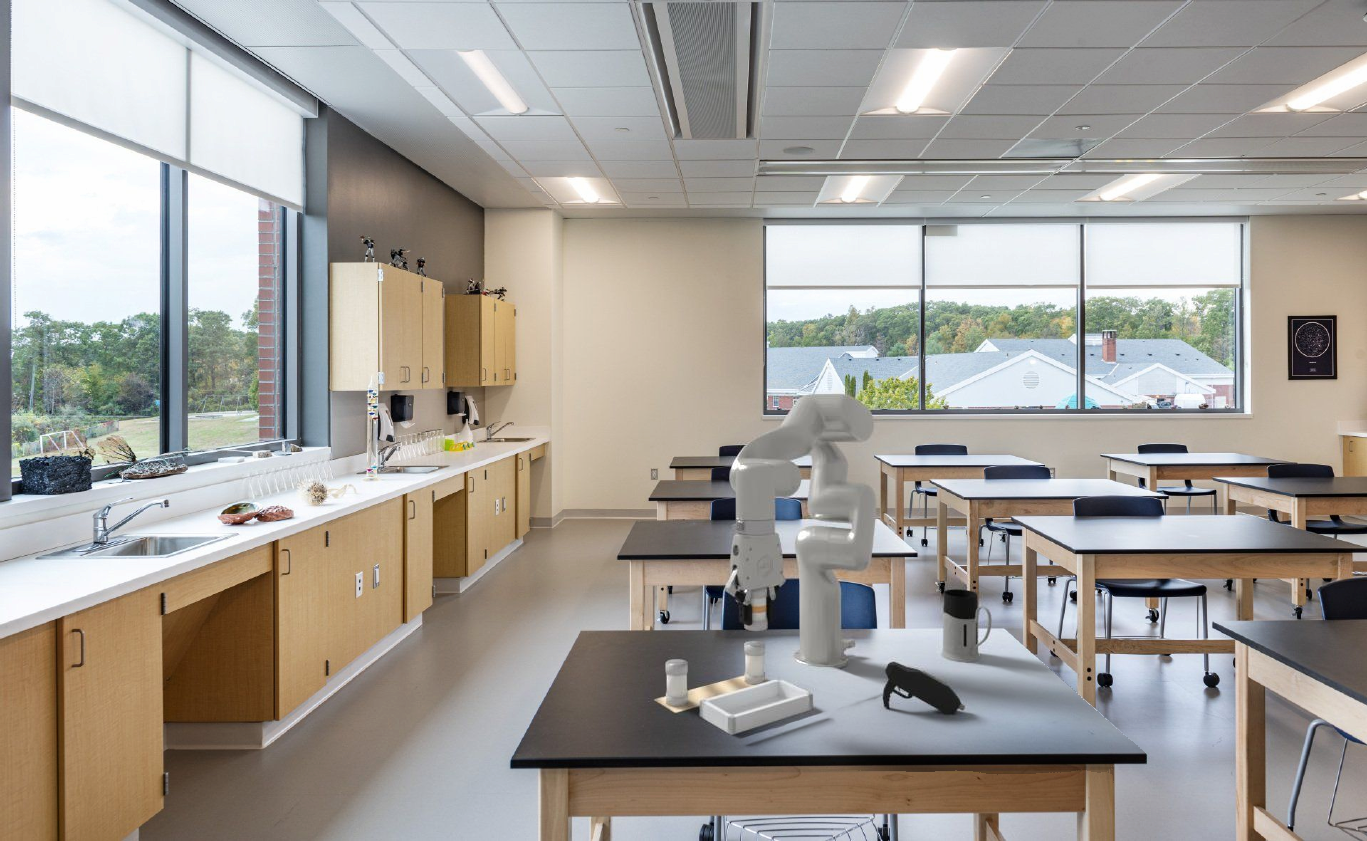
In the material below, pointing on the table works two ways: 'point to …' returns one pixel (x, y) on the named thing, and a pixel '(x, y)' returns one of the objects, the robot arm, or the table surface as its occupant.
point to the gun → (920, 688)
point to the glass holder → (962, 625)
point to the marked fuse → (758, 610)
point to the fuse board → (708, 692)
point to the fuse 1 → (676, 683)
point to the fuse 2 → (754, 662)
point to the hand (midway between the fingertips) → (755, 620)
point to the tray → (755, 706)
